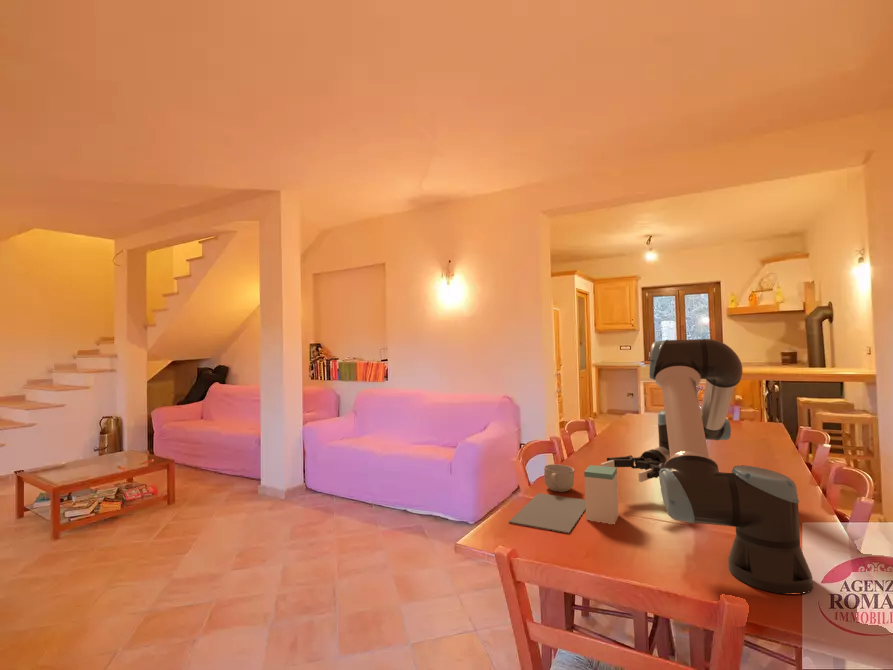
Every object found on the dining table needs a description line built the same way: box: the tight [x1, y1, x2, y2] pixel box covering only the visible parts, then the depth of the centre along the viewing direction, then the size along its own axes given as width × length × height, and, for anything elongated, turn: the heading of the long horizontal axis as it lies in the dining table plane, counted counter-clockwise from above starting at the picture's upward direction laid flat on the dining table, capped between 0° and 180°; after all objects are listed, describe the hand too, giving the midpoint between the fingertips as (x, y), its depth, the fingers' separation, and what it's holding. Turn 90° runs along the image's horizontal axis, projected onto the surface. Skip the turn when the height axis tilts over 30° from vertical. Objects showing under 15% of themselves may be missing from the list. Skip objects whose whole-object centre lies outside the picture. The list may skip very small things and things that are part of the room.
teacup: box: [543, 463, 576, 493], centre depth 160 cm, size 14×11×8 cm
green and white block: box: [583, 464, 620, 525], centre depth 134 cm, size 8×8×14 cm
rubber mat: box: [508, 492, 586, 535], centre depth 140 cm, size 28×18×1 cm, turn 150°
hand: (619, 472), depth 141 cm, fingers open, 13 cm apart
